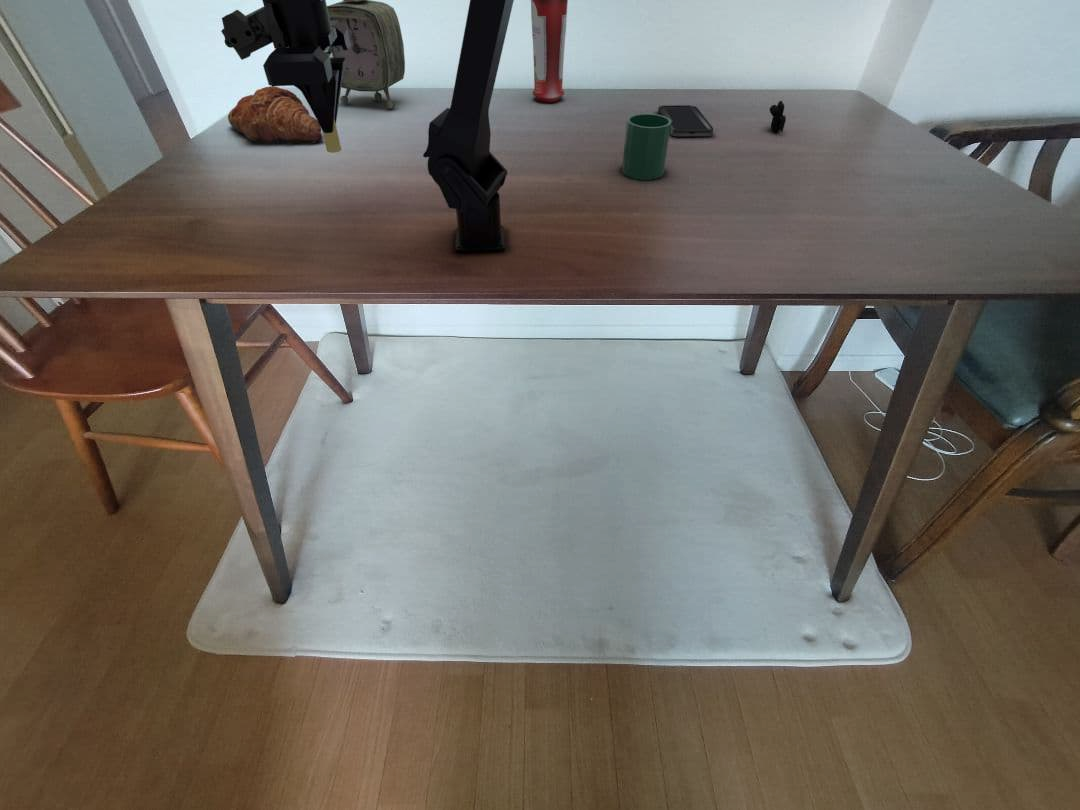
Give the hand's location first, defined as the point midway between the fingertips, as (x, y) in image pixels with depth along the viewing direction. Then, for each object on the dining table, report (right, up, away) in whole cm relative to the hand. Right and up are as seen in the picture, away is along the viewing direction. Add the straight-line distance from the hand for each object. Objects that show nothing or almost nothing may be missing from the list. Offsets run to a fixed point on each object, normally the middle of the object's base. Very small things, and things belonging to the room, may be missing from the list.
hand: (329, 129), depth 72 cm
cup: (+43, +4, +23) cm, 49 cm away
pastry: (-23, +16, +36) cm, 46 cm away
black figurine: (+71, +18, +38) cm, 82 cm away
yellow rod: (0, -2, +2) cm, 3 cm away
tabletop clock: (-9, +29, +50) cm, 59 cm away
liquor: (+28, +31, +52) cm, 67 cm away
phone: (+55, +20, +41) cm, 71 cm away
